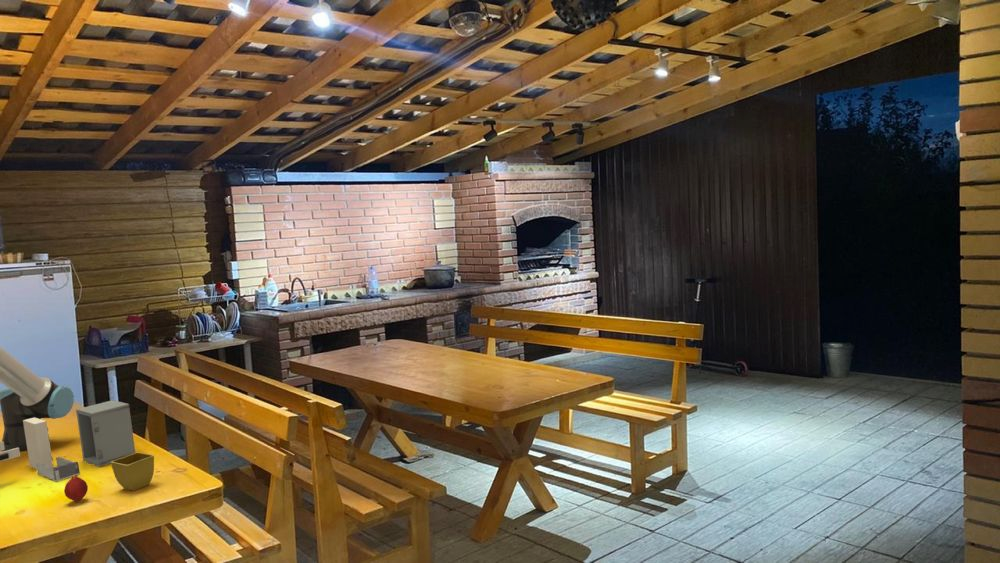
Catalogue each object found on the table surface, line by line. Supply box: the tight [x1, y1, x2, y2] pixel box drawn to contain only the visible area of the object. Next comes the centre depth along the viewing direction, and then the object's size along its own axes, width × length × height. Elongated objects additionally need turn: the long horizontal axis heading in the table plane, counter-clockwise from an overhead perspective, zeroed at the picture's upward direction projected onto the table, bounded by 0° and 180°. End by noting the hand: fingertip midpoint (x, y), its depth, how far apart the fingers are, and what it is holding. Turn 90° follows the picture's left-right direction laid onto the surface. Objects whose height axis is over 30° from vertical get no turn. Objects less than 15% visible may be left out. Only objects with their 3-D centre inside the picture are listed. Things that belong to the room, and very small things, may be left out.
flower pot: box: [110, 451, 155, 492], centre depth 222 cm, size 9×9×9 cm
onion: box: [64, 475, 89, 503], centre depth 214 cm, size 6×6×8 cm
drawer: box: [36, 456, 81, 483], centre depth 240 cm, size 15×7×4 cm, turn 51°
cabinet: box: [75, 400, 136, 468], centre depth 251 cm, size 13×12×18 cm
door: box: [23, 417, 54, 470], centre depth 248 cm, size 10×4×16 cm, turn 51°
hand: (11, 448), depth 242 cm, fingers open, 13 cm apart
